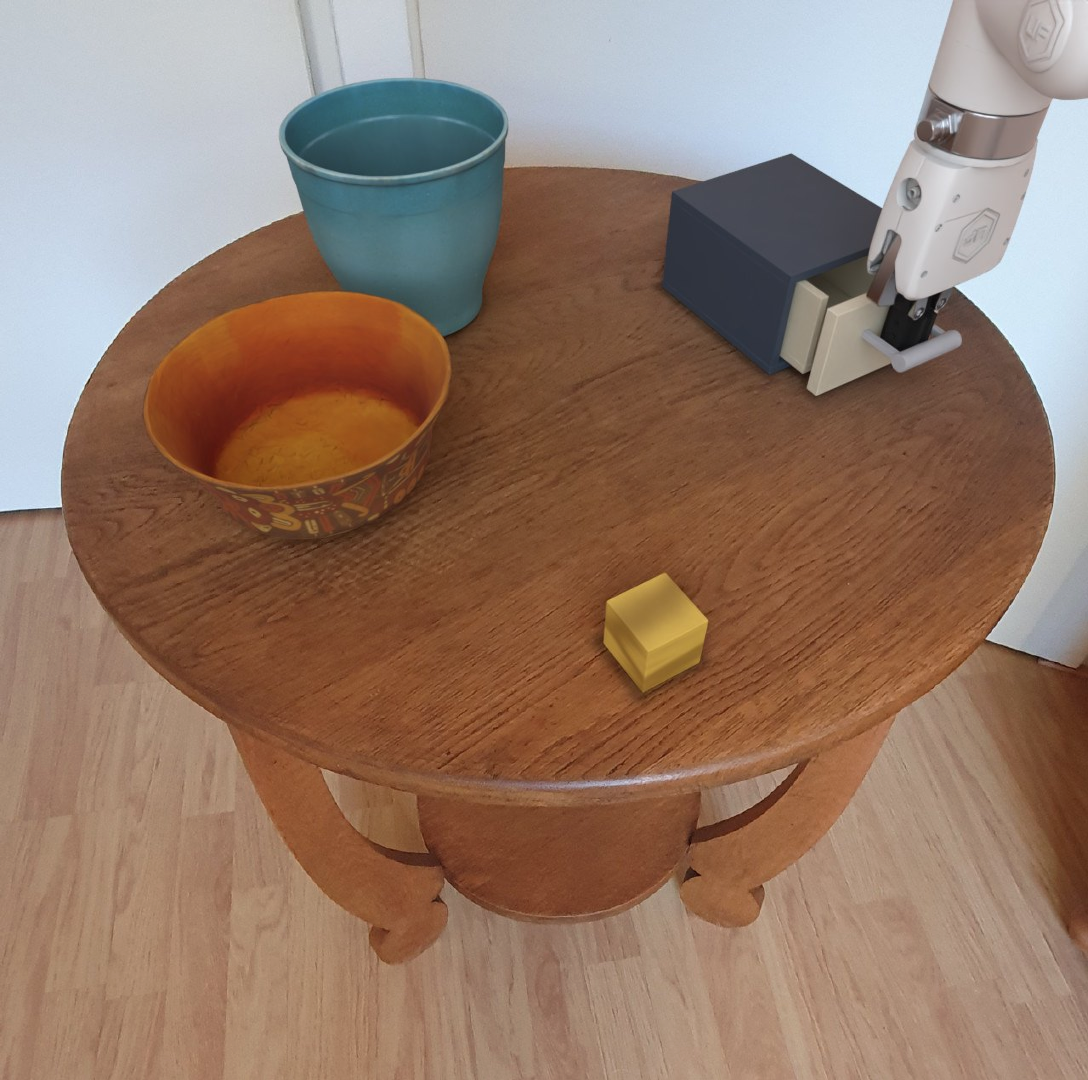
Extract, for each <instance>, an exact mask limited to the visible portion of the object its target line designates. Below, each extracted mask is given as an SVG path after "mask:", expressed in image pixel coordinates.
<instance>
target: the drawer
mask: <svg viewBox="0 0 1088 1080" xmlns="http://www.w3.org/2000/svg"><path fill="white" fill-rule="evenodd" d="M867 260H868V256H865V257H862V258H860V259H857V260H855V261H852V262H849V263H847V264H844V265H841V266H839V267H836V268H834V269H831V270H828V271H826V272H823V273H820V274H818V275H815V276H813V277H810V278H807V279H805V280H802V281H799V282H797V283H796V286H795V291H794V295H793V299H792V304H791V308H790V313H789V317H788V321H787V326H786V330H785V335H784V339H783V343H782V348H781V352H780V356H781V357H782V358H783V359H784V360H786V361H787V362H788V363H789V364H791V365H792V366H791V367H793V368H794V369H796V370H797V371H798V372H799V373H801V374H802V375H804V374H806V373H809V372H810V373H809V378H808V381H807V385H806V390H807V391H809V392H810V393H811V394H813V396H815V397H817V396H820V395H822V394H824V393H826V392H829V391H832V390H833V389H835V388H838V387H841V386H843V385H844V384H847V383H849V382H852V381H854V380H856V379H859V378H861V377H863V376H865V375H867V374H870V373H872V372H874V371H877V370H879V369H881V368H883V367H886V366H889V365H891V366H892V368H893V370H894V371H895V372H897V373H905V372H907V371H909V370H911V369H913V368H916V367H918V366H920V365H922V364H924V363H927V362H929V361H932V360H933V359H935V358H938V357H940V356H942V355H945V354H947V353H949V352H952V351H954V350H956V349H958V348H960V347H961V346H962V342H963V339H962V334H961V333H960V332H959V331H958V330H957V329H950V330H948V331H945V330H944V329H942V328H941V327H939V326H938V325H937V324H935V323H934V325H933V328H932V331H931V333H930V336H932V337H931V338H929V339H928V340H927V341H924V342H922V343H920V344H917V345H915V346H913V347H910V348H908V349H906V350H904V351H901V352H899V351H898V350H897V349H895V348H894V347H892V346H891V345H890V344H888V343H887V342H885V341H884V340H883V339H881V338H880V335H881V332H882V329H883V326H884V323H885V320H886V317H887V314H888V311H889V307H890V306H883V307H878V306H877V305H875V304H874V303H872V302H871V301H870V300H868V299H867V298H866V295H867V292H868V290H869V288H870V286H871V284H872V281H873V279H874V277H875V275H872V274H869V273H868V271H867ZM934 312H936V313H937V314H939V311H936V310H935V311H934Z"/></svg>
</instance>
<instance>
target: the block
mask: <svg viewBox="0 0 1088 1080" xmlns="http://www.w3.org/2000/svg"><path fill="white" fill-rule="evenodd" d="M604 618H605V619H604V628H603V642H602V644H603V645H604V646H605V647H606V648H607V650H608V651H609V652H610V654H611V656H612V657H614V658H615V660H616V661H617V662H618V664H619V665H620V666H621V668H622V669H623V671H625V673H626V674H627V675H628V676H629V678H630V679H631V680H632V682H633V683H634V685H636V687H637V689H639V690H640V692H641V693H642V694H643V693H645V692H648V691H649V690H651V689H653V688H655V687H656V686H659V685H660V684H662V683H664V682H666V681H668V680H669V679H672V678H674V677H675V676H677V675H679V674H681V673H682V672H684V671H686V670H688V669H690V668H692V667H693V666H695V665H697V664H699V663H700V661H701V657H702V652H703V648H704V643H705V640H706V633H707V630H708V624H709V619H708V618H707V617H706V616H705V615H704V614H703V612H701V610H700V609H699V608H698V607H697V606H696V605H695V604H694V602H692V600H691V599H690V598H689V597H688V596H687V595H686V594H685V592H684V591H683V590H682V589H681V588H680V587H679V586H678V585H677V583H676V582H675V581H674V580H673V578H671V577H670V576H669V575H668V574H667V573H666V572H663V573H661V574H659V575H656V576H655V577H653V578H651V579H648V580H646V581H645V582H642V583H640V584H638V585H636V586H634V587H632V588H630V589H628V590H626V591H624V592H622V593H620V594H618V595H616V596H614V597H612V598H609V599H608V600H606V604H605V617H604Z"/></svg>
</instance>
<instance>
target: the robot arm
mask: <svg viewBox="0 0 1088 1080" xmlns="http://www.w3.org/2000/svg"><path fill="white" fill-rule="evenodd" d="M943 29H944V30H943V32H942V36H941V39H940V42H939V46H938V50H937V53H936V56H935V60H934V63H933V66H932V69H931V73H930V76H929V79H928V84H927V87H926V90H925V93H924V98H923V101H922V103H921V107H920V110H919V113H918V118H917V121H916V124H915V128H914V131H913V139H912V140H910V142H909V144H908V147H907V148H906V150H905V153H904V155H903V157H902V159H901V161H900V164H899V165H898V168H897V170H896V172H895V174H894V177H893V179H892V182H891V185H890V187H889V189H888V192H887V195H886V197H885V200H884V203H883V206H882V207H881V208H882V211H881V214H880V216H879V219H878V222H877V225H876V229H875V232H874V235H873V238H872V242H871V246H870V250H869V254H868V260H867V271H868V273H869V274H872V275H875V277H874V279H873V281H872V284H871V286H870V288H869V290H868V292H867V295H866V298H867V299H868V300H870V301H871V302H872V303H874V304H875V305H877V306H878V307H883V306H890V307H889V311H888V314H887V317H886V320H885V323H884V326H883V329H882V332H881V335H880V338H881V339H883V340H884V341H885V342H887V343H888V344H890V345H891V346H892V347H894V348H895V349H897V350H898V351H899V352H901V351H904V350H906V349H908V348H910V347H913V346H915V345H917V344H920V343H922V342H924V341H927V340H929V339H930V336H931V334H930V333H931V331H932V328H933V325H934V324H935V323H936V321H937V317H938V313H936V312H934V311H935V310H936V311H938V312H939V311H941V310H942V309H943V308H944V307H945V306H946V305H947V303H948V301H949V299H950V297H951V295H952V292H953V290H954V288H955V287H956V286H958V285H961V284H963V283H966V282H968V281H970V280H973V279H975V278H977V277H980V276H982V275H984V274H986V273H988V272H991V270H993V269H994V268H996V267H997V266H998V265H999V264H1000V263H1001V261H1002V259H1003V258H1004V255H1005V253H1006V251H1007V249H1008V246H1009V244H1010V241H1011V238H1012V235H1013V232H1014V230H1015V227H1016V225H1017V222H1018V219H1019V216H1020V212H1021V210H1022V207H1023V204H1024V200H1025V198H1026V195H1027V191H1028V187H1029V184H1030V182H1031V177H1032V174H1033V170H1034V165H1035V160H1036V156H1037V148H1038V143H1039V139H1038V136H1039V133H1040V131H1041V129H1042V126H1043V123H1044V122H1045V118H1046V116H1047V114H1048V111H1049V109H1050V106H1051V104H1052V101H1053V99H1055V100H1060V101H1079V100H1084V99H1086V100H1087V99H1088V0H952V2H951V6H950V9H949V13H948V16H947V19H946V22H945V26H944V28H943Z"/></svg>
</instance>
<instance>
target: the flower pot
mask: <svg viewBox="0 0 1088 1080" xmlns="http://www.w3.org/2000/svg"><path fill="white" fill-rule="evenodd" d="M508 133H509V117H508V114H507V112H506V110H505V109H504V107H503V106H502V104H500V102H498V101H497V100H496V99H495V98H493V97H492V96H491V95H489V94H486V93H485V92H484V91H481V90H479V89H476V88H473V87H471V86H468V85H465V84H461V83H458V82H453V81H447V80H443V79H442V80H441V79H434V78H423V77H389V78H387V77H386V78H385V77H384V78H377V79H369V80H363V81H357V82H353V83H348V84H345V85H341V86H336V87H334V88H331V89H329V90H325V91H323V92H319V93H318V94H316V95H313V96H311V97H309V98H308V99H305V100H304V101H302V102H301V103H299V104H298V105H297V106H294V108H293V109H292V110H290V111H289V112H288V114H287V115H286V116H285V117H284V118H283V120H282V122H281V123H280V125H279V129H278V141H279V145H280V148H281V151H282V153H283V154H284V156H285V157H286V160H287V164H288V167H289V170H290V173H291V177H292V180H293V182H294V184H295V186H296V190H297V194H298V197H299V200H300V204H301V207H302V210H303V213H304V217H305V220H306V223H307V226H308V228H309V229H308V230H309V232H310V234H311V237H312V239H313V241H314V244H315V245H316V247H317V249H318V252H319V254H320V255H321V257H322V259H323V261H324V262H325V264H326V266H327V267H328V269H329V271H330V272H331V274H332V275H333V276H334V279H335V280H336V281H337V283H338V285H339V286H340V288H341V291H351V292H360V293H365V294H370V295H374V296H379V297H383V298H386V299H389V300H392V301H395V302H398V303H401V304H403V305H405V306H407V307H408V308H410V309H412V310H413V311H415V312H417V313H418V314H420V315H421V316H423V317H424V318H425V319H427V320H428V321H429V322H431V323H432V324H433V325H434V326H436V328H437V329H438V330H439V331H440V333H441V334H442V336H443V338H444V337H446V336H449V335H451V334H454V333H456V332H458V331H459V330H460V331H461V329H463V328H465V327H467V325H469V324H470V323H471V322H472V321H473V320H474V319H475V318H476V317H477V315H478V314H479V313H480V310H481V308H482V305H483V287H484V283H485V279H486V276H487V272H488V269H489V266H490V262H491V260H492V256H493V254H494V252H495V248H496V244H497V241H498V236H499V232H500V228H501V219H502V211H503V210H502V209H503V200H504V199H503V198H504V174H505V173H504V170H505V162H506V139H507V137H508Z"/></svg>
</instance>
